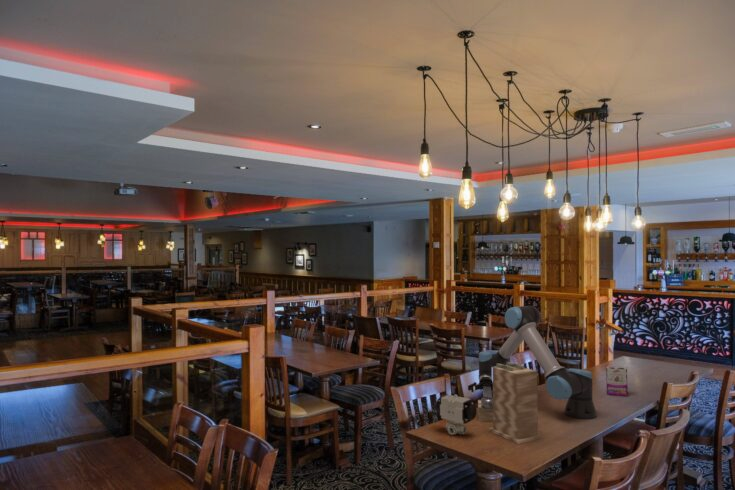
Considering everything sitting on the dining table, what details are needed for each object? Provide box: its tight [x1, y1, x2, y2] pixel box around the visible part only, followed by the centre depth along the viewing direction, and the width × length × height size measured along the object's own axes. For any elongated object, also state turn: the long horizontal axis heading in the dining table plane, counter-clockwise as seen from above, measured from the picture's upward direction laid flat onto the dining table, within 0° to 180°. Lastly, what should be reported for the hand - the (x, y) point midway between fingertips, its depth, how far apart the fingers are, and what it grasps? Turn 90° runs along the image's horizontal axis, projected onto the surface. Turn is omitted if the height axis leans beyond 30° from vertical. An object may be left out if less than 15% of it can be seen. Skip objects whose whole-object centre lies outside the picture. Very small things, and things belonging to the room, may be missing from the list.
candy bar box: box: [605, 365, 629, 397], centre depth 297 cm, size 11×5×16 cm, turn 68°
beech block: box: [477, 399, 493, 423], centre depth 258 cm, size 14×10×6 cm
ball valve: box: [435, 393, 478, 436], centre depth 234 cm, size 18×8×18 cm, turn 50°
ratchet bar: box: [480, 386, 493, 409], centre depth 263 cm, size 28×7×4 cm, turn 168°
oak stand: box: [488, 361, 544, 445], centre depth 233 cm, size 19×15×32 cm
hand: (487, 392), depth 269 cm, fingers open, 13 cm apart
